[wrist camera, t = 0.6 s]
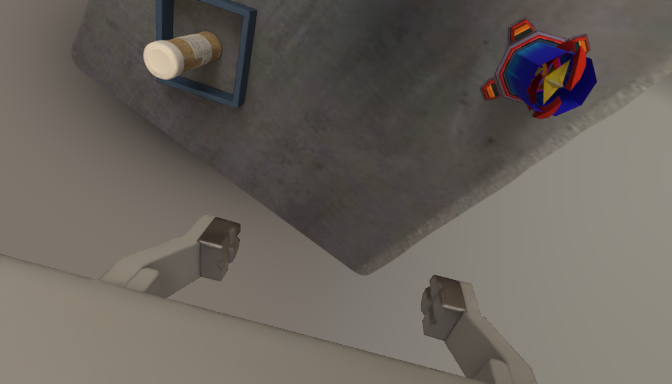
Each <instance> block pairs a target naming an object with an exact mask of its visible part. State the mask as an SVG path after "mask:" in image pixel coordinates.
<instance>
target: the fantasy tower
mask: <svg viewBox="0 0 672 384" xmlns="http://www.w3.org/2000/svg"><path fill="white" fill-rule="evenodd" d="M533 30H535V28H534V25H533V24H532V23H531V22H530V21H529V20H528V19H527V17H525V18H523V19H521V20H520V21H518V22H516V23H514V24H512V25H510V26H509V30H508V40H509V43H511V42H513V41H514V40H516V39H518V38H520V37H522V36H524V35H526V34H528V33H529V32H531V31H533ZM568 40H569V41H566V39H565V38H562V37H558V36H555V35H551V34H548V33H544V32H541V31H536V32H534V33H533V34H531V35H529V36H527V37H525V38H523V39H521V40H519V41H517V42H515V43H514V44H512V45H510V46H508V48H507V50H506V52H505V54H504V56H503V58H502V60H501V62H500V64H499V66H498V68H497V70H496V72H495V77H496V79H497V82H498V85H499V87H500V90H501V93H502V96H503V97H504V98H507V99H511V100H514V101H518V102H522V103H525V104H527V106H528V109H529V111H530V110H531V109H532V110H533V111H534V112H535V113H534V114H533V117H535V118H538V119H543V118H548V117H550V116H551V115H553V116H557V115H559V114H562V113H564V112H566V111H569V110H571V109H573V108H576V107H578V106H580V105H582V104H583V102H584V100H585V99H586V97H587V96H588V94H589V93H590V91H591V90H592V88H593V87H594V85H595V84H596V82H597V80H596V76H595V71H594V67H593V63H592V59H590V58H587V57H586V53H587V52H588V51H590V50H591V49H590V45H589V41H588V37H587V34H585V35H579V36H574V37H572V38H570V39H568ZM570 51H572V52H570ZM480 89H481V92H482V94H483V97H484V99H485V100H492V99H497V98H499V97H500V94H499V92H498V89H497V86H496V84H495V81H494V78H493V77H492V78H490V79H488V80H487V81H486V82H485V83H484V84H483V85H482V86H481V87H480Z"/></svg>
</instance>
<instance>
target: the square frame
mask: <svg viewBox="0 0 672 384" xmlns="http://www.w3.org/2000/svg"><path fill="white" fill-rule="evenodd" d="M199 1H202V2H205V3H207V4H210V5H213V6H216V7H219V8H222V9H225V10H228V11H231V12H233V13H236V14H239V15H242V16H243V23H242V31H241V40H240V48H239V56H238V64H237V72H236V81H235V89H234V95H232V94H229V93H226V92H223V91H221V90H218V89H215V88H212V87H209V86H206V85H203V84H200V83H197V82H194V81H191V80H188V79H185V78H182V77H179V76H177V77H175V78H172V79H168V80H164V79H160V78H158V77H157V82H160V83H163V84H166V85H169V86H172V87H175V88H178V89H181V90H184V91H186V92H189V93H192V94H195V95H198V96H201V97H204V98H207V99H210V100H213V101H216V102H219V103H222V104H225V105H228V106H231V107H234V108H239V107H240V106H241V105H243V104H244V100H245V94H246V86H247V79H248V72H249V65H250V58H251V51H252V44H253V37H254V30H255V23H256V16H257V10H256V9H253V8H250V7H247V6H244V5H241V4H238V3H235V2H233V1H230V0H199ZM171 39H173V0H156V41H159V40H165V41H166V40H171Z"/></svg>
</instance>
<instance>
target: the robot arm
mask: <svg viewBox="0 0 672 384" xmlns="http://www.w3.org/2000/svg"><path fill="white" fill-rule="evenodd" d="M240 226H241V225H240V224H239V223H236V222H232V221H228V220H225V219H221V218H218V217H214V216H210V215H207V214H204V215H202V216H201V217H200V218H199V219H198V220H197V222H196V223H195V224H194V225H193V226H192V227H191V228H190V230H189V231H188V232H187V233H186V235H184V237H183V238H182V237H178V238H175V239H172V240H169V241H167V242H164V243H161V244H159V245H156V246H153V247H151V248H148V249H145V250H142V251H140V252H137V253H134V254H132V255H129V256H126V257H124V258H121V259H119V260H118V261H117V262H116V263H115V264H114V265H113V266H112V267H111V268H110V269H109V270H107V271H106V273H104V274H103V275H102V276H101V277H100V279H98V280H95V279H91V278H88V277H84V276H80V275H76V274H72V273H68V272H65V271H61V270H57V269H53V268H50V267H45V266H42V265H38V264H35V263H31V262H27V261H23V260H19V259H16V258H12V257H9V256H6V255H2V254H0V384H537V382H536V379H535V376H534V374H533V371H532V368H531V367H530V366H529V365H528V364H527V363H526V362H525V361H524V359H523V358H522V357H521V356H520V355H519V354H518V353H517V352H516V351H515V350H514V348H513V347H512V346H511V345H510V344H509V343H508V342H507V341H506V340H505V339H504V338H503V336H502V335H501V334H500V333H499V332H498V331H497V330H496V329H495V328H494V327H493V326H492V325H491V323H490V322H489V321H488V320H487V319H486V318H485V317H482V316H481V314H480V310H479V307H478V303H477V300H476V297H475V293H474V290H473V287H472V285H471V284H470V283H466V282H462V281H457V280H453V279H449V278H445V277H441V276H437V275H433V276H432V278H431V279H430V287H428V288H426V289H425V291H424V293H423V296H422V300H421V311H422V312H423V314H424V315H425V317H424V319H423V330H424V335H427V336H430V337H433V338H437V339H440V340H443V341H445V344H446V345H447V347H448V349H449V350H450V352H451V353H452V355H453V357H454V358H455V360H456V362H457V363H458V365H459V366H460V368H461V370H462V371H463V373H464V375H465V376H466V377H463V376H459V375H455V374H451V373H447V372H444V371H440V370H436V369H432V368H428V367H425V366H421V365H416V364H413V363H409V362H406V361H402V360H398V359H394V358H390V357H386V356H383V355H379V354H375V353H371V352H368V351H364V350H360V349H357V348H353V347H349V346H345V345H342V344H338V343H334V342H330V341H326V340H322V339H319V338H315V337H311V336H307V335H304V334H300V333H296V332H292V331H288V330H285V329H281V328H277V327H273V326H269V325H266V324H261V323H258V322H254V321H250V320H246V319H243V318H239V317H235V316H231V315H228V314H224V313H220V312H216V311H213V310H208V309H205V308H201V307H197V306H194V305H190V304H186V303H182V302H178V301H175V300H171V299H167V297H168V296H170V295H172V294H174V293H175V292H177V291H179V290H180V289H182V288H183V287H185V286H187V285H188V284H190V283H191V282H193V281H195V280H196V279H198V278H200V277H205V278H209V279H213V280H218V281H221V280H222V278H223V277H224V275H225V273H226V272H227V270H228V263H231V262H232V261H233V260H234V258H235V256H236V254H237V251H238V247H239V241H240V240H239V238H238V237H237V236H238V234H239V233H240Z"/></svg>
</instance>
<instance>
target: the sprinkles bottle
mask: <svg viewBox="0 0 672 384" xmlns="http://www.w3.org/2000/svg"><path fill="white" fill-rule="evenodd" d="M220 54H221V44H220V42H219V40H218V38H217V37H216V36H215V35H214V34H212V33H210V32H207V31H203V32H200V33H198V34H191V35H187V36H182V37H177V38H173V39H171V40H166V41H165V40H159V41H155V42H152V43H150V44H148V45H147V46H146V48H145V49H144V54H143V57H144V62H145V64H146V66H147V68H148V69H149V71H150V72H151V73H152V74H153V75H155V76H156V77H158V78H160V79H164V80H168V79H172V78H175V77H177V76H179V75H180V74H181V73H183V72H185V71H188V70H192V69H194V68H197V67H199V66H202V65H205V64H207V63H209V62H213V61H216V60H217V59H218V58H219V57H220Z"/></svg>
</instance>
